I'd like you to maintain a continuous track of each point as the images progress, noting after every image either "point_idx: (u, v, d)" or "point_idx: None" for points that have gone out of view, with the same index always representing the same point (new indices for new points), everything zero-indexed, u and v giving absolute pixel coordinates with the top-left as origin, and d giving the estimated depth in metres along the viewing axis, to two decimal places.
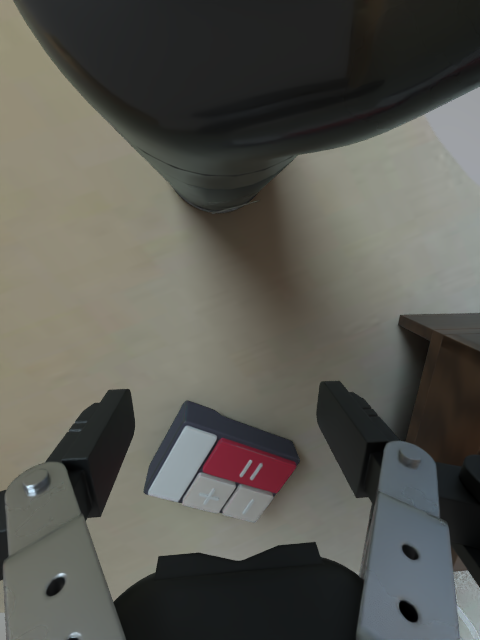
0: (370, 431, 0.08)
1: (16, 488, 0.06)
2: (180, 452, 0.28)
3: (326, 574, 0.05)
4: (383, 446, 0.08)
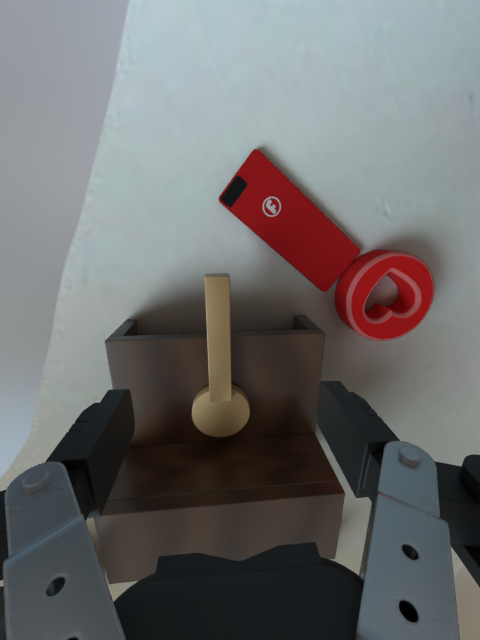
0: (370, 431, 0.08)
1: (16, 488, 0.06)
2: None
3: (326, 574, 0.05)
4: (383, 446, 0.08)
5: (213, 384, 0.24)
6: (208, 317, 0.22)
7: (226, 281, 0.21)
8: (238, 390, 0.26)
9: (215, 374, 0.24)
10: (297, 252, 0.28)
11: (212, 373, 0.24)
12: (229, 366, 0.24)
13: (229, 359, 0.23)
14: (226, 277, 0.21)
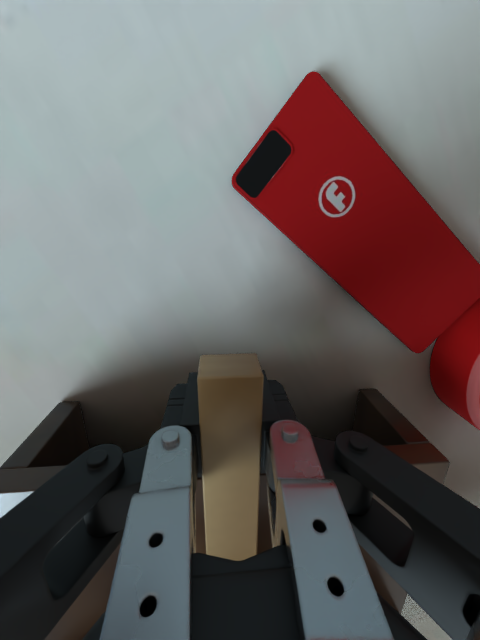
0: (268, 412, 0.09)
1: (157, 438, 0.08)
2: None
3: None
4: None
5: None
6: (207, 466, 0.09)
7: (255, 388, 0.08)
8: None
9: None
10: (377, 285, 0.15)
11: None
12: (253, 553, 0.11)
13: (254, 541, 0.10)
14: (255, 378, 0.08)
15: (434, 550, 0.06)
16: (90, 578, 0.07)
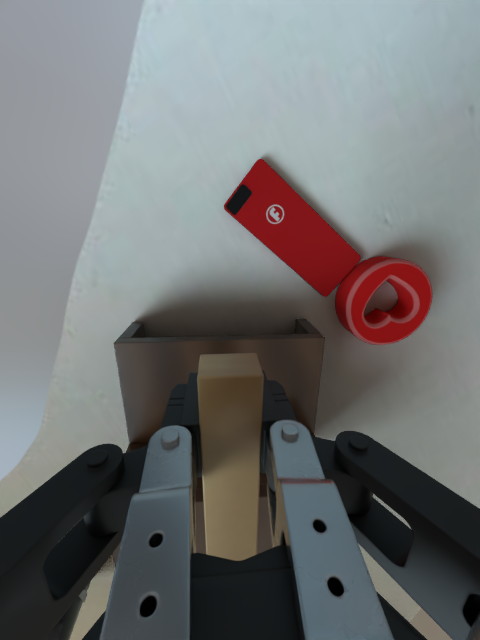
0: (268, 412, 0.09)
1: (157, 438, 0.08)
2: None
3: None
4: None
5: None
6: (207, 466, 0.09)
7: (255, 388, 0.08)
8: None
9: None
10: (299, 258, 0.29)
11: None
12: (253, 553, 0.11)
13: (254, 541, 0.10)
14: (255, 378, 0.08)
15: (434, 550, 0.06)
16: (90, 578, 0.07)
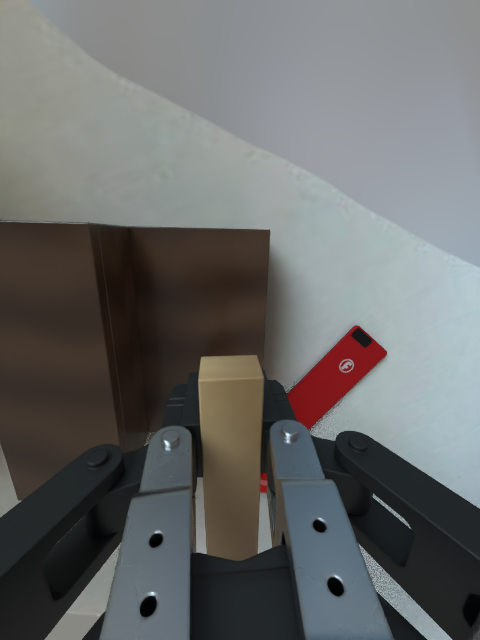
0: (268, 412, 0.09)
1: (157, 438, 0.08)
2: None
3: None
4: None
5: None
6: (208, 467, 0.09)
7: (256, 390, 0.08)
8: None
9: None
10: (309, 387, 0.34)
11: None
12: (254, 554, 0.11)
13: (254, 542, 0.10)
14: (255, 381, 0.08)
15: (434, 550, 0.06)
16: (90, 578, 0.07)
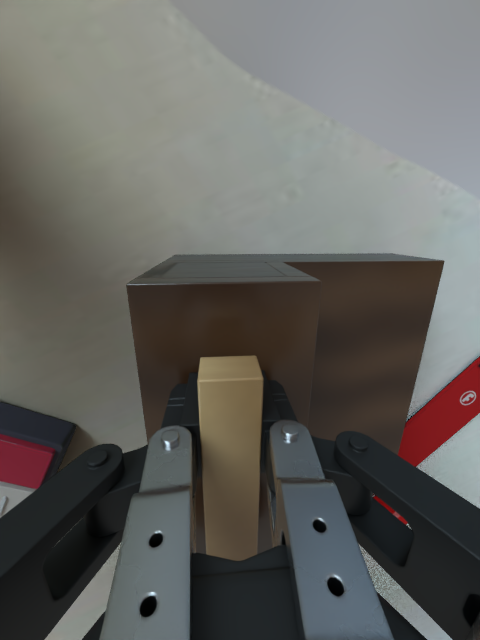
0: (268, 412, 0.09)
1: (157, 438, 0.08)
2: None
3: None
4: None
5: None
6: (208, 468, 0.09)
7: (255, 391, 0.08)
8: None
9: None
10: (424, 421, 0.30)
11: None
12: (253, 555, 0.11)
13: (254, 543, 0.10)
14: (255, 381, 0.08)
15: (434, 550, 0.06)
16: (90, 578, 0.07)
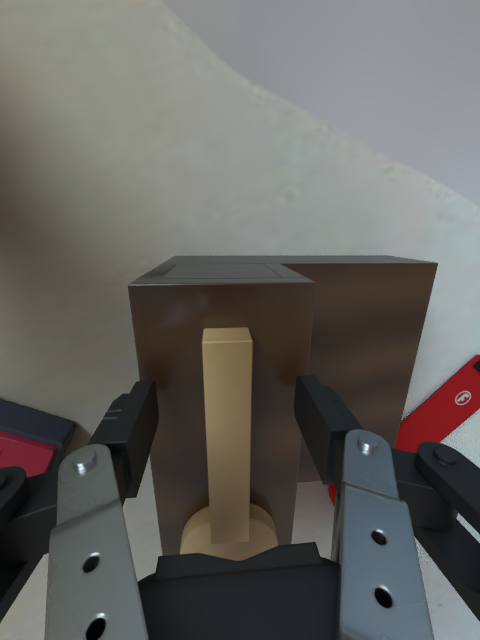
0: (335, 420, 0.09)
1: (68, 464, 0.07)
2: None
3: (326, 574, 0.05)
4: None
5: (217, 519, 0.13)
6: (209, 415, 0.11)
7: (246, 351, 0.11)
8: (259, 515, 0.15)
9: (221, 504, 0.13)
10: (420, 421, 0.31)
11: (216, 504, 0.13)
12: (247, 491, 0.13)
13: (247, 481, 0.13)
14: (246, 343, 0.10)
15: None
16: (3, 614, 0.06)
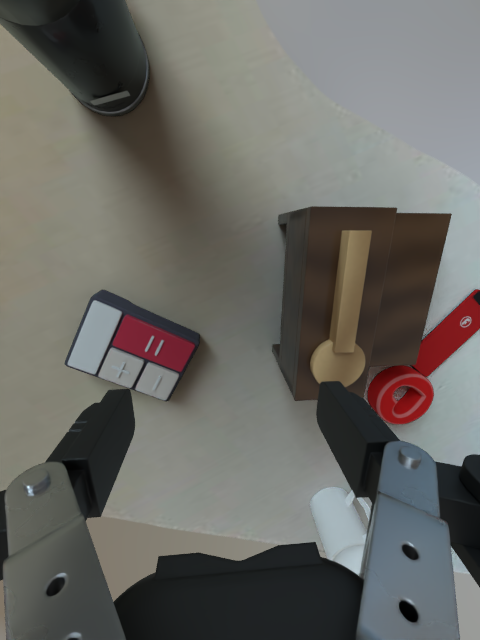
0: (370, 431, 0.08)
1: (16, 488, 0.06)
2: (91, 324, 0.34)
3: (326, 574, 0.05)
4: (383, 446, 0.08)
5: (340, 335, 0.26)
6: (347, 270, 0.24)
7: (368, 236, 0.23)
8: (356, 344, 0.27)
9: (343, 326, 0.26)
10: (435, 339, 0.43)
11: (341, 325, 0.26)
12: (357, 318, 0.25)
13: (358, 311, 0.25)
14: (369, 231, 0.23)
15: None
16: None
